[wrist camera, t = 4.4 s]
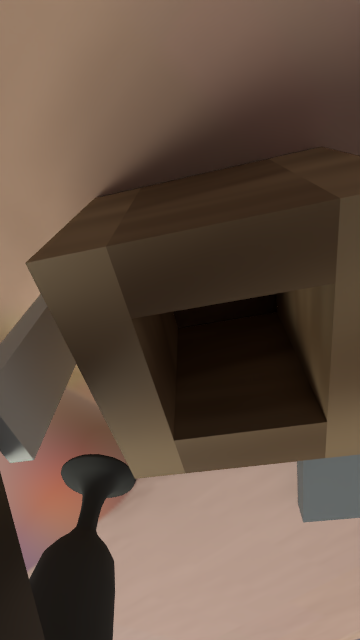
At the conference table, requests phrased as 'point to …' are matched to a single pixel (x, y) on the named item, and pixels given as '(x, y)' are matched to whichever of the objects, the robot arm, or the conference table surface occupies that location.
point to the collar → (226, 336)
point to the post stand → (329, 488)
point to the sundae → (81, 558)
